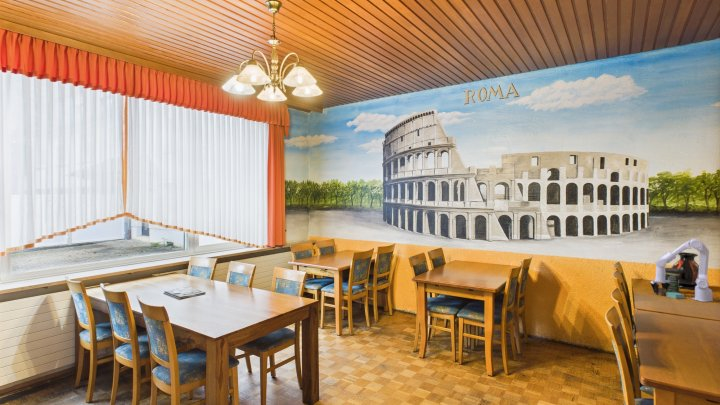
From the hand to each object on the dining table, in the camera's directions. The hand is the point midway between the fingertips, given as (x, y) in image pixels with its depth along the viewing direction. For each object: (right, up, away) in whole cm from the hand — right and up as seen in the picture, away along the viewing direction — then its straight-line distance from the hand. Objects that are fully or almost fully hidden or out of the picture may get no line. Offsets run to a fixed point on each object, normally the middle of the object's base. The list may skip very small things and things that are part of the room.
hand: (659, 292), depth 283 cm
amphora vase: (+40, -1, +23) cm, 46 cm away
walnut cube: (0, -2, 0) cm, 2 cm away
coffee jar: (+16, -2, +9) cm, 18 cm away
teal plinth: (+5, -2, -7) cm, 9 cm away
